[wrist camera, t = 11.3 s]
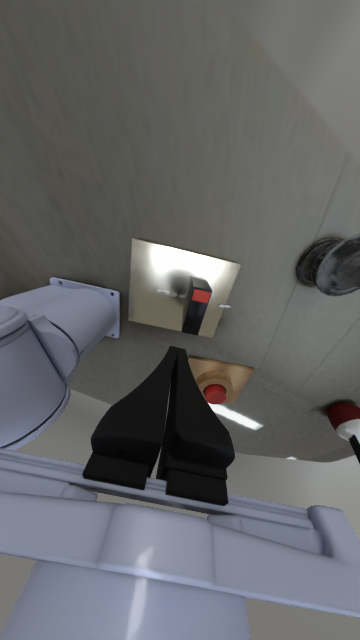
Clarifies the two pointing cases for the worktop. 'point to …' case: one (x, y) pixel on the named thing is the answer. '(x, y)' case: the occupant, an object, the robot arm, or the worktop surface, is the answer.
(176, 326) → the panel
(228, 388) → the button block
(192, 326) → the knob
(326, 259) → the salt shaker
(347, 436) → the cocoa
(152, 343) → the worktop surface
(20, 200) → the worktop surface
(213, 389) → the button
